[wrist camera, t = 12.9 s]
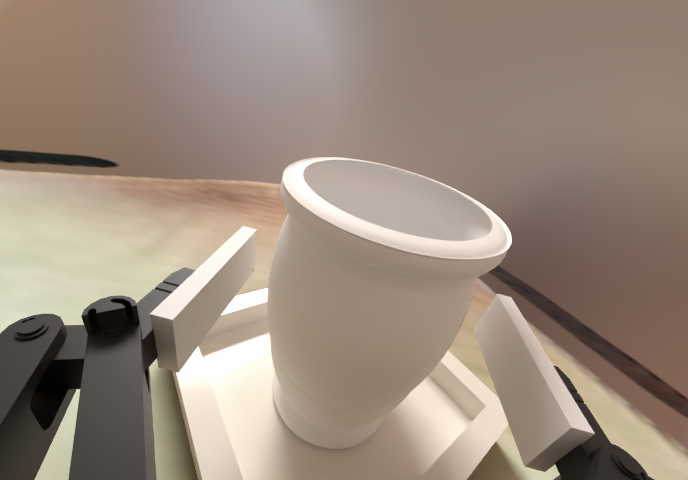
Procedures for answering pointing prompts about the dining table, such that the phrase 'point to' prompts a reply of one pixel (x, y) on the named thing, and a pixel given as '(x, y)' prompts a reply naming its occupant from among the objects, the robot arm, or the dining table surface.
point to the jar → (368, 290)
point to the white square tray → (302, 457)
